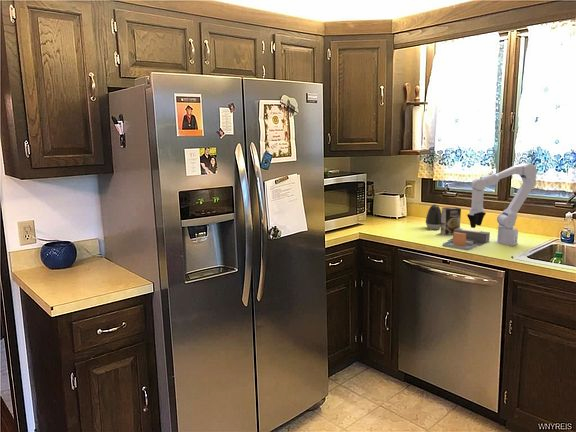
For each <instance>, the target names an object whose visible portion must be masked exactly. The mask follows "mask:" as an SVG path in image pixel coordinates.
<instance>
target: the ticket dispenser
mask: <svg viewBox="0 0 576 432" xmlns="http://www.w3.org/2000/svg"><path fill="white" fill-rule="evenodd" d="M454 232H457V233H465V234H466V243H472V244H477V247H482V246H483V245H485V244H487V243H489V242H490V237H491V236H490V235H491V234H490V233H491V232H489V231H482V230H480V229H479V230H477V229H471V228H461V227H460V228H456V229H454ZM452 236H453V238H451V239H448V240H447V242H448V241H450V240H453V239H454V235H452Z"/></svg>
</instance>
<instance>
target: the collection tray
mask: <svg viewBox="0 0 576 432" xmlns="http://www.w3.org/2000/svg"><path fill="white" fill-rule="evenodd" d="M449 240H450V239H449ZM442 247H447V248H451V249H453V248H454V249H457V250H463V251H470V250H472V249H474V248H476V247H478V246H477V244H472V243H466V247H462V246H455V245H453V240H450V241H448V240H447V241H446V242H443V243H442Z"/></svg>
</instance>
